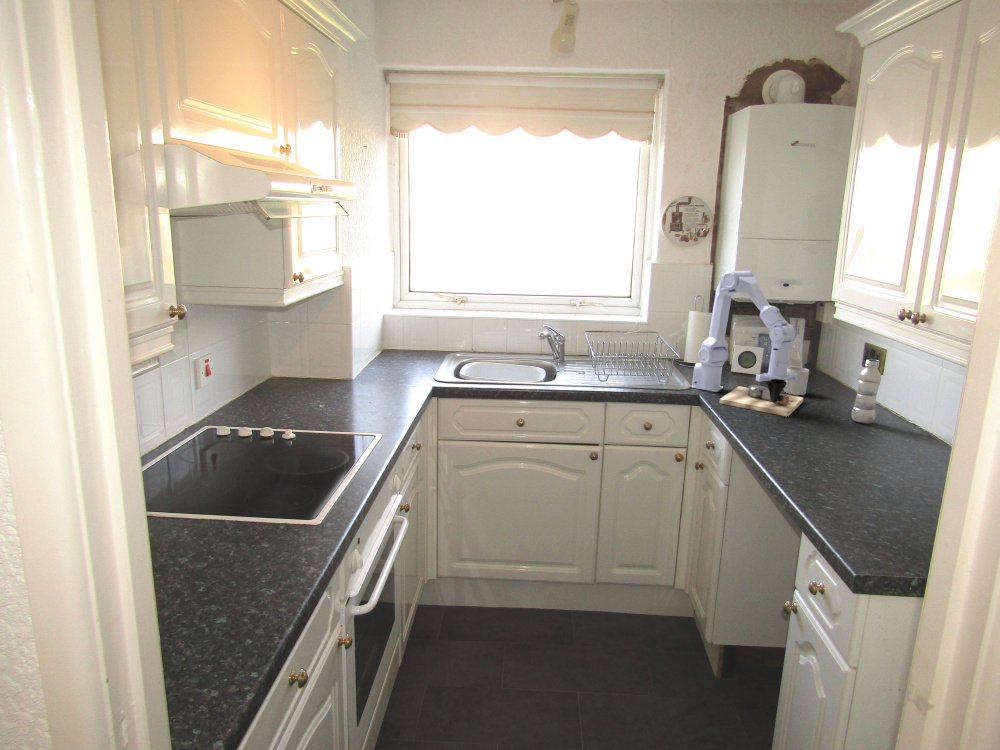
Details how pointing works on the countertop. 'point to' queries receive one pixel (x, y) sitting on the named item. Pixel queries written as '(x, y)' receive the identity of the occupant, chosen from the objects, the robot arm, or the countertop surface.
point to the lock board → (759, 402)
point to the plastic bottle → (867, 392)
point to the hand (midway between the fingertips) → (773, 401)
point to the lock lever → (766, 394)
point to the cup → (797, 381)
